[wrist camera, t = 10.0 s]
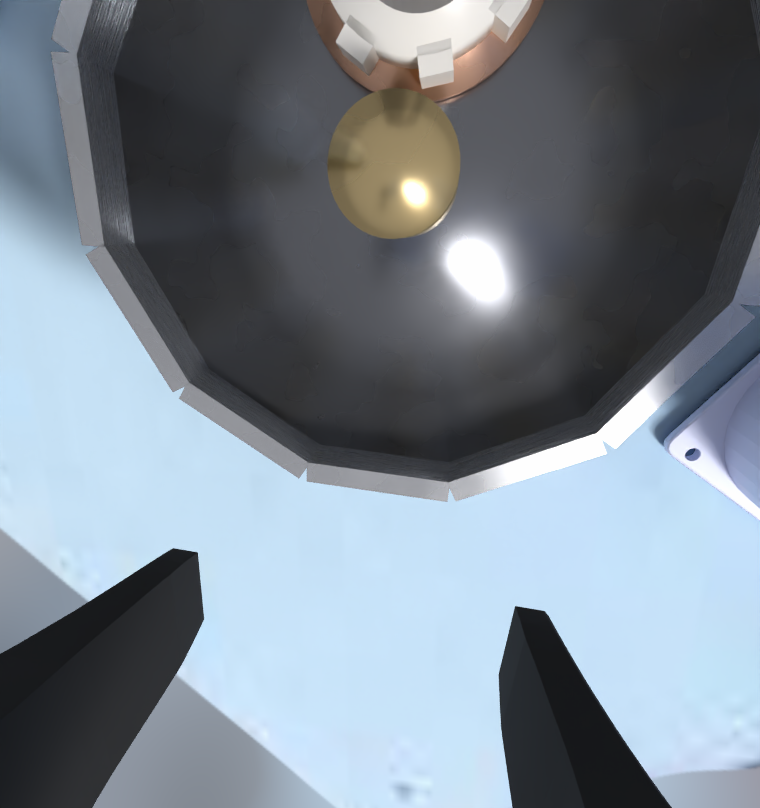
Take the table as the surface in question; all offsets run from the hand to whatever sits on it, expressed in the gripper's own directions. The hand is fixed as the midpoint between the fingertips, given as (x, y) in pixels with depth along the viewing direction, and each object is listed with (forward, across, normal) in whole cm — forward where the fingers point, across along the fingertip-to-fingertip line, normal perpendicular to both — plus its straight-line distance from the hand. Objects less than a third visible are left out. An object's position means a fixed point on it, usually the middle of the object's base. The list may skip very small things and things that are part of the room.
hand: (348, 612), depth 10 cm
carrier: (+9, 0, -9) cm, 13 cm away
